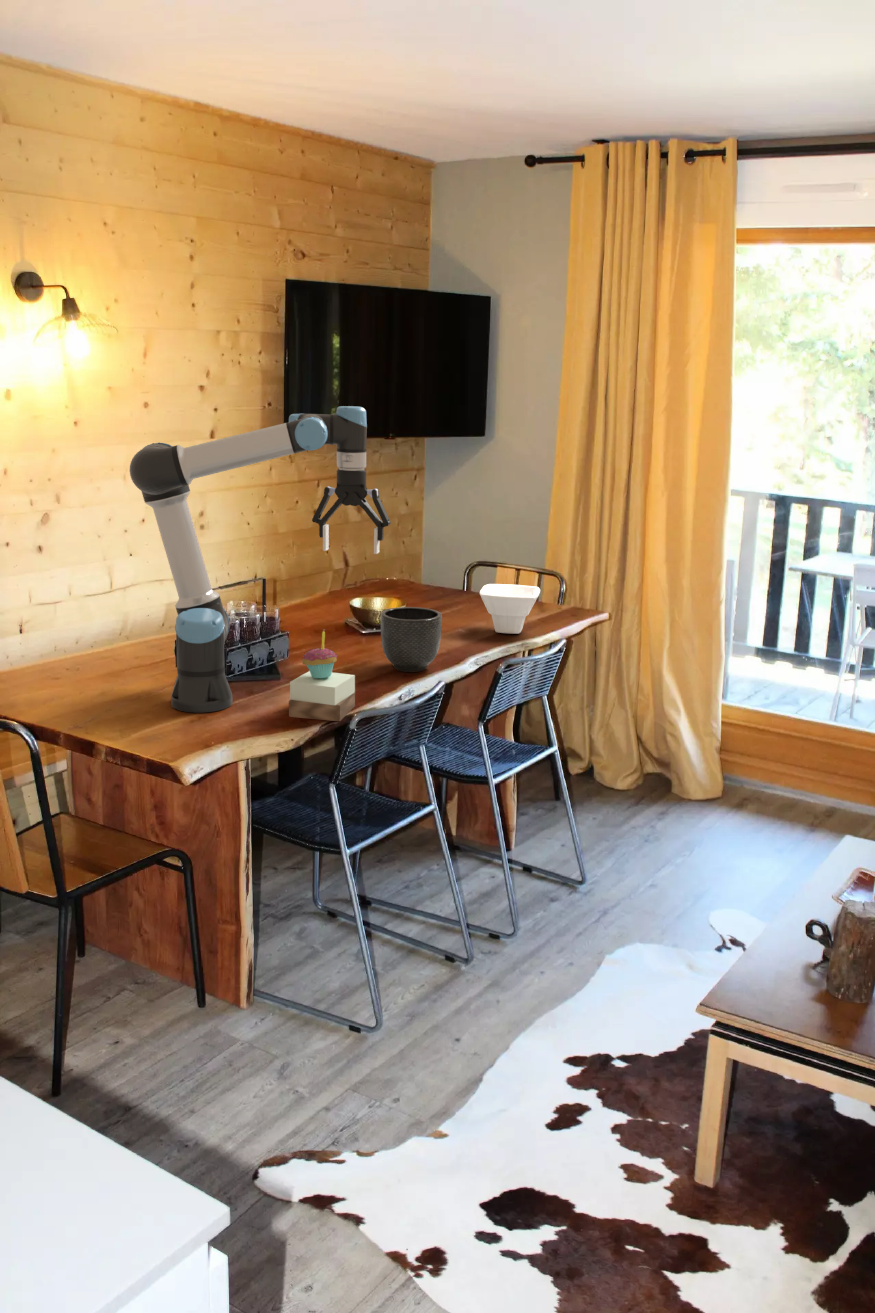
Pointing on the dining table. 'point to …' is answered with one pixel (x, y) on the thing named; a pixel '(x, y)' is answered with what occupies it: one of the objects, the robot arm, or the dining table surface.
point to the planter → (411, 637)
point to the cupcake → (320, 661)
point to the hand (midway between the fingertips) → (351, 551)
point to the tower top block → (322, 688)
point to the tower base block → (321, 709)
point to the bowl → (509, 605)
